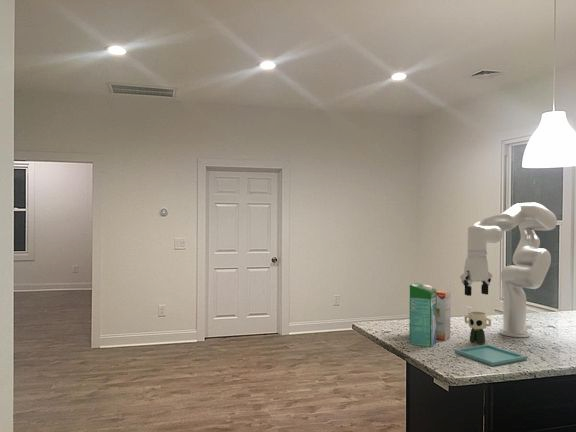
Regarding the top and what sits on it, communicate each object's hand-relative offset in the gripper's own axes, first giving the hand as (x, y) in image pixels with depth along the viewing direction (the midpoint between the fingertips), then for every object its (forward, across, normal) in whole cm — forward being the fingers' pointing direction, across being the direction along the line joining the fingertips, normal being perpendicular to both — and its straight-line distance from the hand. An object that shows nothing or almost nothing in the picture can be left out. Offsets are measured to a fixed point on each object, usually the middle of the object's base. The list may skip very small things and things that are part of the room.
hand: (476, 294), depth 197 cm
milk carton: (+21, +21, -9) cm, 31 cm away
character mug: (+21, 0, 0) cm, 21 cm away
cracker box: (+21, +10, -15) cm, 28 cm away
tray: (+21, +10, +17) cm, 28 cm away
